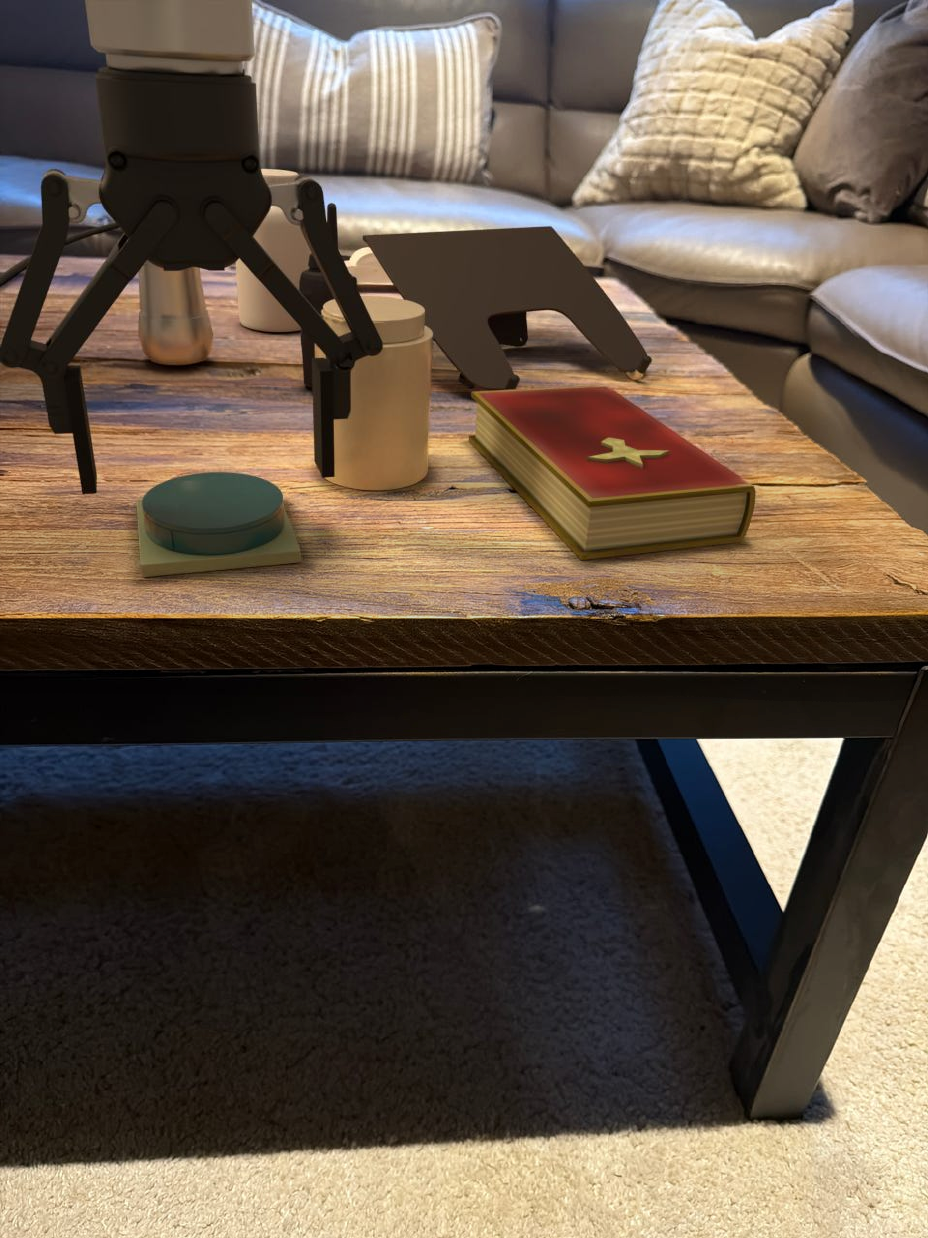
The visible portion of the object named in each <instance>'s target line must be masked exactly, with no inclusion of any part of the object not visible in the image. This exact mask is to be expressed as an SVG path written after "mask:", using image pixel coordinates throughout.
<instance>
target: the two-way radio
mask: <svg viewBox="0 0 928 1238" xmlns="http://www.w3.org/2000/svg"><path fill="white" fill-rule="evenodd" d="M326 220H327V227H328V229H329V231H330V233H331V235H332V237H333V239H334V241H335V243H336V245H337V248H338V249H339V232H338V231H339V230H338V211H337V205H336V203H333V202H330V203H328V204H327V206H326ZM308 267H309V269H308V270H305V271H303V272H302V273H301V276H300V280H299V291H300V292H301V293H302V294H303V296H304V297H305V298H306V299H307V300H308V301H309V303H310V304H311V305H312V306H313V307H314V308H315V310H316V311H317V312H318V313H319V314H320V315H321V316H322V314H321V310H323V305H324V304H325V303H326V302H328V301H330V300H333V299H334V297H333V295H332V293H331V291H330V289H329V287H328V285H327V283H326V281H325V279H324V277H323V275H322V272H321V270H320V268H319V266H318V264H317V262H316V260H315V258H314V256H313V254H312V253H311V254H310V256H309V263H308ZM350 275H351V277H352V279H353V281H354V283H355V285H356V287H357V288H358V284H357V279H356V277H354V276H352V274H350ZM322 318H323V316H322ZM300 347H301V359H302V376H303V379H302V380H303V384H304V385H305V386H306V387H308V388H311V389H313V386H312V358H315V343H314V342H313V341H312V339H311V338H310V337H309V336H308V335H307V334H306V333H305V331H304V330H303V329H302V328H301V330H300Z"/></svg>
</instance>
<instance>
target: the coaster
mask: <svg viewBox="0 0 928 1238" xmlns="http://www.w3.org/2000/svg"><path fill="white" fill-rule="evenodd" d="M142 500H143V499H139V500H136V515H137V529H138V545H139V561H140V570H141V577H142V578H148V577H160V576H170V575H181V574H192V573H201V572H202V573H203V572H213V571H214V572H215V571H224V570H233V569H243V568H244V569H245V568H246V569H247V568H254V567H265V566H267V567H268V566H276V565H277V566H278V565H286V564H298V563H302V551H301V547H300V545H299V542H298V540H297V537H296V535H295V532H294V529H293V526H292V523H291V521H290V518H289V515H288V513H287V510H286V507H285V506H284V527H283V529H282V531H281V532H280V534H279V535H278V536H277V537H275V538H274V539H273V540H271V541H270V542H268V543H266V544H264V545H262V546H259V547H256V548H254V549H250V550H247V551H243V552H238V553H232V554H224V555H192V554H185V553H179V552H175V551H171V550H168V549H165V548H163V547H161V546H159V545H157V544H155V543H154V542H153V541H151V540H150V538H149V537H148V536H147V534H146V532H145V524H144V516H143V509H142Z"/></svg>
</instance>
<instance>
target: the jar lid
mask: <svg viewBox="0 0 928 1238" xmlns="http://www.w3.org/2000/svg"><path fill="white" fill-rule="evenodd" d="M141 500H142V509H143V516H144V524H145V532H146V534H147V536H148V537H149V538H150V540H151V541H153V542H154V543H155V544H157V545H159V546H161V547H163V548H165V549H168V550H171V551H175V552H179V553H185V554H192V555H224V554H232V553H238V552H243V551H247V550H250V549H254V548H256V547H259V546H262V545H264V544H266V543H268V542H270V541H271V540H273V539H274V538H275V537H277V536H278V535H279V534H280V532H281V531H282V529H283V527H284V507H285V505H284V495H283V491H282V490H281V489H280V488H279V486H278V485H276V484H274V483H273V482H272V481H269V480H267V479H265V478H262V477H259V476H256V475H253V474H252V475H251V474H246V473H239V472H229V471H228V472H227V471H212V472H211V471H210V472H209V471H208V472H197V473H190V474H186V475H181V476H177V477H174V478H170V479H168V480H165V481H162V482H160V483H158V484H156V485H154V486H153V487H151V488H150V489H149V490H147V492H146V493H144V495H143V498H142V499H141Z"/></svg>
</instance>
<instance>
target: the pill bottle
mask: <svg viewBox="0 0 928 1238" xmlns="http://www.w3.org/2000/svg"><path fill="white" fill-rule="evenodd" d="M261 171H262V175H263V177H264V179H265V181H266V183H276V182H286V181H294V180H295V178H297V177H298V176H300V174H299V173H297V172H295V171H292V170H284V169H276V168H275V169H274V168H261ZM253 237H254V238H255V239H256V241H257V242H258V243H259V244H260V245H261V246H262V248H263V249H264V250H265V251H266V252H267V254H268V255H269V256H270V257H271V258H272V259H273V261H274V262H275V263H276V264H277V265H278V266H279V268H280V269H281V270H282V271H283V272H284V273H285V275H286V276H287V277H288V278H289V279H290V280H291V282H292V283H293V284H294V285H295V286H296V287H297V289H298V290H299V280H300V276H301V273H302V272H303V271H305V270H308V269H309V267H308V263H309V256H310V254H311V253H312V252H311V250H310V248H309V246H308V244H307V242H306V240H305V238H304V236H303V234H302V231H301V229H300V226H299V225H294V224H292V223H290V222H289V221H288V220H287V219H286V217H285V216H284V214H283V211H282V209H281V208H279V207H277V206H271V208H270V211H269V213H268V214H267V216H266V217H265V219H264V220H263V222H262V224H261V225H260V227H259V228H258V230H257V231H256V233H255V235H254V236H253ZM235 277H236V290H237V291H236V292H237V294H236V295H237V306H238V307H237V311H238V318H239V323H240V324H241V325H242V326H243V327H245V328H247V329H250V330H254V331H260V332H266V333H291V332H299V331H301V327H300V326H299V325H298V324H297V322H296V321H295V320H294V319H293V318H292V317H291V316H290V314H289V313H288V312H287V311H286V310H285V309H284V308H283V307H282V305H281V304H280V303H279V302H278V301H277V300H276V299H275V298H274V296H273V295H272V294H271V293H270V292H269V291H268V290H267V288H266V287H265V286H264V285H263V284H262V283H261V282H260V281H259V280H258V279H257V278H256V277H255V276H254V274H253V273H252V272H251V271H250V270H249V269H248V268H247V267H246V265H245V264H244V263H243V262H242V261H241V260H240V259H238V260H237V261H236V262H235Z"/></svg>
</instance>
